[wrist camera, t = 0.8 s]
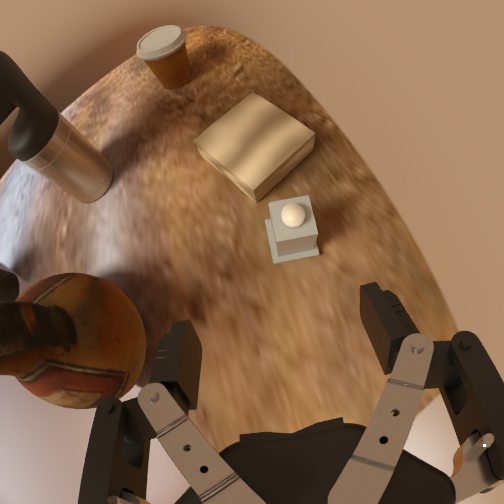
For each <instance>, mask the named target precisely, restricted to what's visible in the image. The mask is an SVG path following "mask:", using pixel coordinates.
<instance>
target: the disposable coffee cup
mask: <svg viewBox="0 0 504 504" xmlns="http://www.w3.org/2000/svg"><path fill="white" fill-rule="evenodd" d="M137 55H138V56H139V57H140V58H142V59H143V60H144V61H145V62H146V64H147V65H148V66H149V68H150V69H151V70H152V72H153V73H154V74H155V75H156V77H157V78H158V79H159V81H160V82H161V83H162V85H163V86H164V87H165V88H167V89H176V88H179V87H181V86H183V85H185V84H186V83H187V82H188V81H189V80H190V78H191V71H190V66H189V61H188V56H187V51H186V46H185V33H184V31H182V30H181V29H180V28H179V27H177V26H174V25H173V26H171V25H169V26H164V27H159V28H157V29H155V30H152V31H150V32H149V33H147V34H146V35H144V36H143V37H142V38H141V39H140V40H139V42H138V44H137Z"/></svg>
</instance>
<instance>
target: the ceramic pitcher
mask: <svg viewBox="0 0 504 504" xmlns="http://www.w3.org/2000/svg"><path fill="white" fill-rule="evenodd" d="M146 349H147V341H146V336H145V330H144V326H143V322H142V319H141V317H140V314H139V312H138V310H137V309H136V307H135V306H134V304H133V303H132V301H131V300H130V299H129V298H128V297H127V296H126V295H125V293H124V292H123V291H121V290H120V289H119V288H118V287H117V286H116V285H114V284H113V283H111V282H109V281H107V280H104V279H101V278H99V277H96V276H92V275H87V274H82V273H64V274H59V275H54V276H51V277H48V278H46V279H43V280H40V281H38V282H37V283H35V284H34V285H32V286H30V287H29V288H27V289H26V290H25V291H24V292H22V294H20V296H19V297H18V298H17V299H16V300H15V302H10V303H0V375H11V376H15V377H16V378H17V380H18V381H19V382H20V383H21V384H22V385H23V386H24V387H25V388H26V389H27V390H29V391H30V392H31V393H33V394H34V395H36V396H37V397H39V398H41V399H43V400H45V401H47V402H49V403H51V404H54V405H58V406H61V407H65V408H73V409H89V408H96V407H97V406H98V404H99V403H100V402H101V401H102V400H103V399H105V398H107V397H117V398H118V399H119V398H121V397H123V396H124V395H125V394H126V393H127V392H129V391H130V390H131V389H132V388H133V386H134V385H135V383H136V381H137V380H138V378H139V376H140V374H141V372H142V369H143V365H144V362H145V356H146Z"/></svg>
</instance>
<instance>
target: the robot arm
mask: <svg viewBox="0 0 504 504" xmlns="http://www.w3.org/2000/svg"><path fill="white" fill-rule="evenodd" d="M16 107H19V108H20V110H19V113H18V116H17V118H16V120H15V122H14V125H13V127H12V129H11V132H10V135H9V139H8V148H9V151H10V153H11V154H12V155H13V156H14V157H16V158H17V159H19V160H20V161H22V162H23V163H24V164H26V165H27V166H29V167H30V168H32V169H33V170H35V171H36V172H38V173H39V174H41V175H42V176H43V177H45V178H46V179H48V180H49V181H51V182H52V183H54V184H55V185H57V186H58V187H60V188H61V189H63V190H64V191H66V192H67V193H69V194H70V195H72V196H73V197H75V198H76V199H78V200H79V201H81V202H83V203H90V202H93V201H95V200H97V199H99V198H100V197H101V196H102V195H103V194H104V193H105V192H106V191H107V189H108V187H109V186H110V184H111V181H112V178H113V167H112V165H111V163H110V162H109V161H108V160H107V159H106V158H105V157H104V156H103V155H102V154H101V153H100V152H99V151H98V150H97V149H96V148H95V147H94V146H93V145H92V144H91V143H90V142H89V141H88V140H87V139H86V138H85V137H84V136H83V135H82V134H81V133H80V132H79V131H78V130H77V129H76V128H75V127H74V126H73V125H72V124H71V123H70V122H69V121H67V120H66V119H65V117H64V116H63V115H62V114H61V113H60V112H59V111H58V110H57V109H56V108H55V107H54V106H53V105H52V104H51V103H50V102H49V101H48V100H47V99H46V98H45V97H44V96H43V95H42V94H41V93H40V92H39V91H38V90H37V89H36V87H35V86H34V85H33V84H32V83H31V82H30V80H29V79H28V78H27V77H26V75H25V74H24V73H23V72H22V70H21V69H20V68H19V67H18V65H17V64H16V63H15V62H14V61H13V60H12V59H11V58H10V57H9V56H8V55H7V54H6V53H4V52H2V51H0V125H1V124H2V123H3V122H4V120H5V119H6V118H7V117H8V116H9V114H11V112H12V111H13V110H14V109H15V108H16ZM360 316H361V320H362V323H363V325H364V327H365V330H366V332H367V334H368V336H369V339H370V341H371V343H372V346H373V348H374V350H375V353H376V355H377V357H378V360H379V362H380V364H381V367H382V369H383V372H384V374H385V375H387V374H390V373H391V376H390V378H389V379H388V380H387V382H386V385H385V387H384V390H383V392H382V394H381V397H380V399H379V401H378V404H377V406H376V408H375V411H374V413H373V415H372V417H371V419H370V421H369V423H368V426H367V427H366V426H362V425H359V424H353V423H344V422H343V418H342V417H340V418H336V419H332V420H327V421H323V422H318V423H315V424H313V425H311V426H309V427H306V428H304V429H302V430H299V431H297V432H294V433H274V432H259V433H251V434H241V435H240V441H239V442H236V443H234V444H232V445H230V446H228V447H226V448H225V449H224V450H222V451H221V452H220V453H218V452H217V451H216V450H215V449H214V447H213V446H212V445H211V444H210V443H209V442H208V441H207V439H206V438H205V437H204V436H203V435H202V433H201V432H200V431H199V430H198V429H197V427H196V426H195V425H194V424H193V422H192V421H191V420H190V419H189V417H188V411H189V410H194V409H197V400H198V390H199V380H200V370H201V361H202V346H201V342H200V340H199V338H198V336H197V334H196V332H195V330H194V327H193V325H192V323H191V321H190V320H183V321H177V322H173V325H172V329H171V333H168V334H165V335H164V337H163V338H162V339H161V341H160V343H159V347H158V352H157V355H156V359H155V363H154V367H153V371H152V375H151V379H150V383H149V384H148V385H146V386H145V387H143V388H142V389H141V391H140V392H139V394H138V397H136V398H133V399H130V400H127V401H124V402H121V401H120V400H119V399H118V398H117V397H107V398H105V399H103V400H102V401H101V402H100V403H99V404H98V406H97V409H96V413H95V417H94V421H93V425H92V429H91V434H90V438H89V443H88V448H87V452H86V458H85V463H84V468H83V474H82V479H81V485H80V492H79V499H78V504H150V503H149V502H148V501H146V489H147V488H146V487H147V474H148V461H149V450H150V440H151V439H153V438H157V439H158V440H159V442H160V443H161V445H162V446H163V448H164V449H165V451H166V452H167V454H168V455H169V457H170V458H171V459H172V461H173V463H174V464H175V465H176V467H177V468H178V470H179V471H180V472H181V474H182V475H183V476H184V478H185V479H186V480H187V482H188V483H189V484H190V487H189V488H188V489H187V490H186V492H185V493H184V494H183V495H182V496H181V497H180V498H179V499H178V500H177V501H176V502H175V503H174V504H457V503H459V502H461V501H463V500H465V499H467V498H469V497H471V496H473V495H475V494H477V493H486V492H489V491H491V490H492V489H494V488H496V487H497V486H499V485H500V484H502V483H504V382H503V381H502V379H501V377H500V375H499V373H498V371H497V369H496V367H495V366H494V364H493V362H492V360H491V359H490V357H489V355H488V353H487V352H486V350H485V348H484V347H483V345H482V343H481V342H480V340H479V338H478V337H477V336H476V335H475V334H474V333H472V332H469V331H460V332H457V333H456V334H455V335H454V336H453V338H452V340H451V341H432V340H431V339H430V338H429V337H428V336H426V335H424V334H420V333H419V331H418V329H417V328H416V326H415V324H414V323H413V321H412V319H411V318H410V316H409V315H408V313H407V311H405V308H404V306H403V305H402V304H401V302H400V300H399V299H398V297H397V296H396V295H395V294H393V293H392V292H391V291H389V290H386V291H383V292H382V290H381V289H380V287H379V285H378V284H377V283H376V282H373V283H369V284H365V285H361V286H360ZM430 388H439V390H440V393H441V395H442V398H443V400H444V403H445V405H446V408H447V410H448V413H449V415H450V418H451V421H452V424H453V427H454V429H455V432H456V435H457V438H458V441H459V444H460V448H458V450H457V451H456V453H455V455H454V458H453V465H454V470H453V474H452V476H451V477H449V476H447V474H445V473H444V472H442V471H440V470H438V469H437V468H435V467H433V466H431V465H430V464H428V463H426V462H424V461H423V460H421V459H419V458H417V457H416V456H414V455H412V454H411V453H409V452H407V451H405V450H404V449H403V448H404V445H405V443H406V440H407V438H408V435H409V432H410V430H411V427H412V424H413V422H414V419H415V416H416V413H417V410H418V407H419V404H420V401H421V398H422V394H423V391H424V389H430Z"/></svg>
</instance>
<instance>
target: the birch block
mask: <svg viewBox="0 0 504 504" xmlns="http://www.w3.org/2000/svg"><path fill="white" fill-rule="evenodd" d="M193 141H194V143H195V145H196V147H197V149H198V151H199V153H200V155H201V156H202V157H203V158H204V159H206V160H207V161H208V162H209V163H210V164H212V165H213V166H214V167H215V168H216V169H217V170H219V171H220V172H221V173H222V174H223V175H224V176H226V177H227V178H228V179H229V180H230V181H231V182H233V183H234V184H235V185H236V186H237V187H238V188H240V189H241V190H242V191H243V192H244V193H245V194H247V195H248V196H249V197H250V198H251V199H252V200H253V201H255V202H256V203H258V202H259V201H260V200H261V199H262V198H263V197H264V196H265V195H266V194H267V193H268V192H269V191H270V190H271V189H272V188H273V187H274V186H275V185H276V184H277V183H278V182H279V181H281V180H282V179H283V178H284V177H285V176H286V175H287V174H288V173H289V172H290V171H291V170H292V169H293V168H294V167H295V166H296V165H297V164H298V163H300V162H301V161H302V160H303V159H304V158H305V157H306V156H307V155H308V154H309V153H310V152H311V151H312V150H313V149H314V141H315V133H314V132H313V131H312V130H310V129H309V128H307V127H306V126H305V125H303V124H302V123H300V122H299V121H297V120H296V119H294V118H293V117H291V116H290V115H288V114H287V113H285V112H284V111H282V110H281V109H279V108H278V107H276V106H275V105H273V104H272V103H270V102H268V101H267V100H265V99H264V98H262V97H260V96H259V95H257V94H255V93H254V92H253V93H251V94H250V95H249V96H247V97H246V98H245V99H243V100H242V101H241V102H239V103H238V104H237V105H236V106H234V107H233V108H232V109H230V110H229V111H228V112H227V113H225V114H224V115H223V116H222V117H220V118H219V119H218V120H217V121H216V122H214V123H213V124H212V125H211V126H210V127H208V128H207V129H206V130H205V131H204V132H202V133H201V134H200V135H199V136H198V137H197V138H195V139H194V140H193Z"/></svg>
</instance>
